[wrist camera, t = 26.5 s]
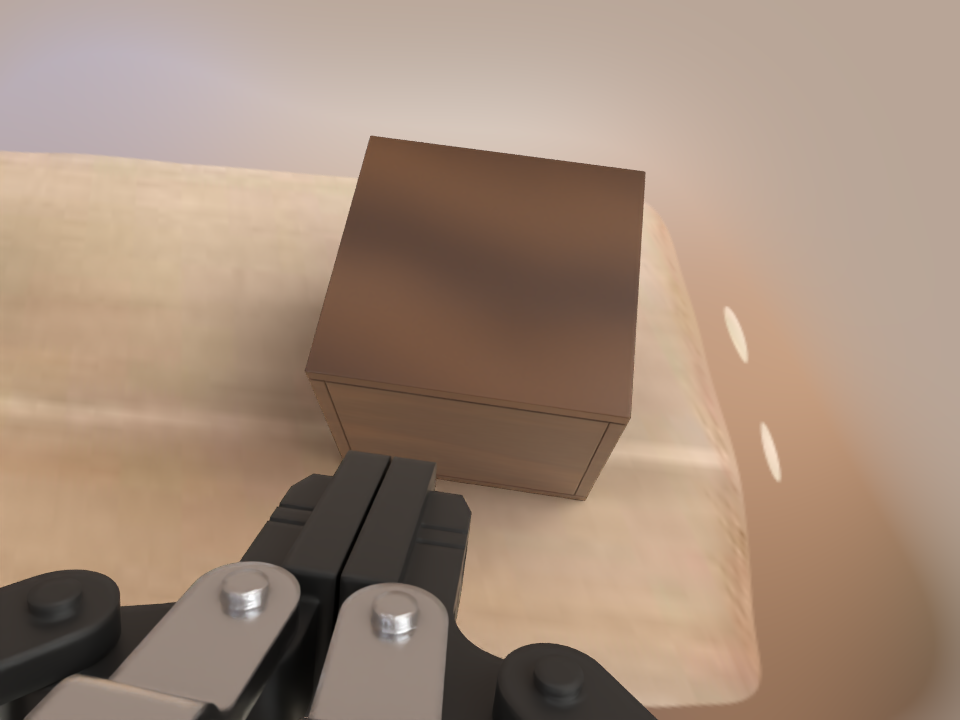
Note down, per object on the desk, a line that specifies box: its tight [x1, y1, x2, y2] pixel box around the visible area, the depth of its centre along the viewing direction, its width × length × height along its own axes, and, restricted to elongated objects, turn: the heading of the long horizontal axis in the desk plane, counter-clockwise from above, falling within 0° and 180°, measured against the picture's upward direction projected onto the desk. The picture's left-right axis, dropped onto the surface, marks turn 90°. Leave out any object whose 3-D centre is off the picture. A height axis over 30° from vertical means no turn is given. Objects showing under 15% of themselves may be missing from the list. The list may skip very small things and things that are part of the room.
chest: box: [309, 378, 627, 501], centre depth 44 cm, size 14×15×13 cm
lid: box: [305, 136, 645, 424], centre depth 38 cm, size 14×15×1 cm
